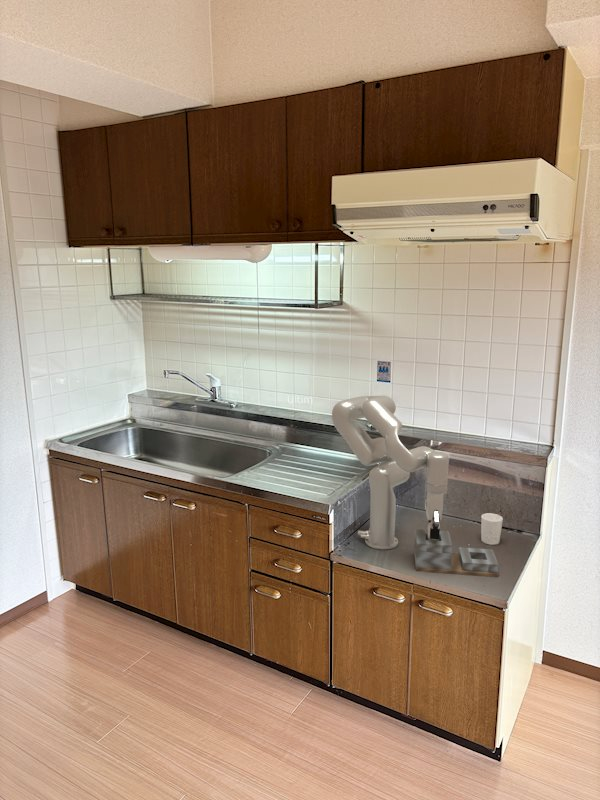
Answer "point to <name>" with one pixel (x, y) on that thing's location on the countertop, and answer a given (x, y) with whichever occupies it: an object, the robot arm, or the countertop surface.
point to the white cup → (491, 528)
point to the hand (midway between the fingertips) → (433, 533)
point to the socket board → (452, 557)
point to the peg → (429, 532)
